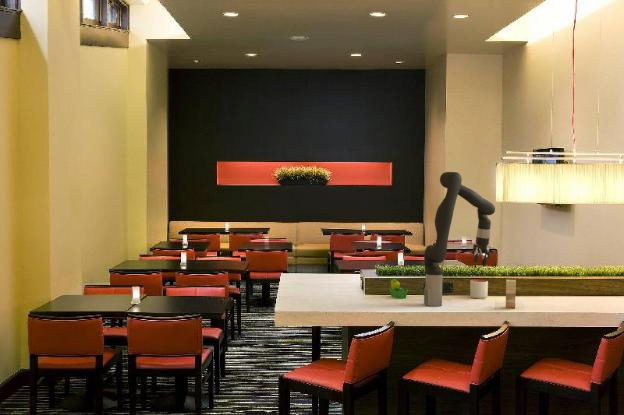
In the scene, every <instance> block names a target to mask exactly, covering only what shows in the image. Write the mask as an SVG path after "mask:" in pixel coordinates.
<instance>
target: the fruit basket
mask: <svg viewBox="0 0 624 415" xmlns="http://www.w3.org/2000/svg"><path fill="white" fill-rule="evenodd" d="M388 290H389V293H390V297H392V298H394V299H397V300H400V299H401V300H403V299H405V300H406V299H407V296H408V292H409V289H406V288H404V287H401V283H400V282H399V281H398V280H397V279H396V278H393V279H391V281H390V287H388Z"/></svg>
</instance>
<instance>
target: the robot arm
mask: <svg viewBox="0 0 624 415" xmlns="http://www.w3.org/2000/svg"><path fill="white" fill-rule="evenodd" d="M462 180H463V178H462V175H461V174H460V173H459V172H457V171H444V172H443V173H442V174H441V175H440V177H439V183H440V185H441V186H442V187H444V188H445V189H446V194H445V195H444V198H443V199H442V201H441V203H440V204H439V205H438V207H437V209H436V211H435V212H436V213H435V217H434V227H435V232H436V241H435V244H429V245H427V246H426V248H425V249H424V254H423V256H424V259H423V260H424V262H423V263H424V264H423V266H424V270H425V287H424V289H423V305H425V306H428V307H441V306H442V305H443V274H444V273H443V269H442V268H441V267H440V265H439V264H441V263H442V262H444V260H446V257H447V249H448V240H449V235H450V229H451V225H452V220H453V217H454V216H453V215H454V210H455V206H456V202H457V198H458V196H460V198H462V199H464V200H465V201H466V202H468V204H470V205H471V206H472V207H474V208H477V211H476V212H477V220H478V223H477V230H476V235H475V236H476V237H475V243H474V244H473V246H472V253H471V254H472V255H473V256H474V257H473V263H478V262H479V255H481V257H482V262H481V266H482V267H483V266H484V267H485V266H486V265H487V260H489V259H490V253H491V249H490V248H488V246H489V244H490V237H491V224H492V222H491V219H489V216H492V215H493V214H495V212H496V206H495V205H494V204H493V203H492V202H491V201H489V200H487V199H485V198H484V197H482V195H480V194H479V193H478V192H476V191H474V190H473V189H472V188H469V187H467V186H465V185H463V184H462Z"/></svg>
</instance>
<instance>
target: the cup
mask: <svg viewBox="0 0 624 415" xmlns="http://www.w3.org/2000/svg"><path fill="white" fill-rule="evenodd" d="M469 286H470V287H469V289H470V290H469V296H470V298H472V299H476V298H477V299H479V300H482V299H487V298H488V293H489V292H488V290H489V288H488V287H489V281H488V280H484V279H470V285H469Z"/></svg>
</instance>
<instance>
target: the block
mask: <svg viewBox="0 0 624 415" xmlns="http://www.w3.org/2000/svg"><path fill="white" fill-rule="evenodd" d="M516 291H517V281H516V279H506V280H505V302H506V308H510V309H509V310H516V309H515V302H516V296H517V294H516V293H517V292H516Z"/></svg>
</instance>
